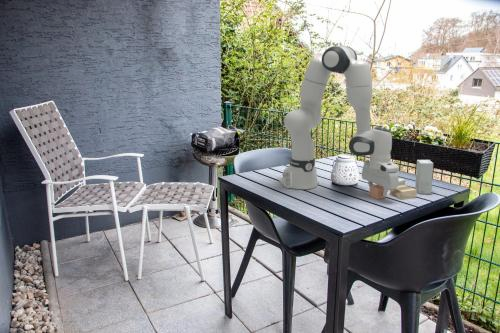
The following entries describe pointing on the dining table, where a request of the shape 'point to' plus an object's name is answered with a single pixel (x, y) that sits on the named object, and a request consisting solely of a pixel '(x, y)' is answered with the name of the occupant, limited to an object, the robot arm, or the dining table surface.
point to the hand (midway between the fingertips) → (377, 193)
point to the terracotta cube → (376, 191)
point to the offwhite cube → (401, 182)
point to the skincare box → (424, 176)
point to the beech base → (403, 192)
